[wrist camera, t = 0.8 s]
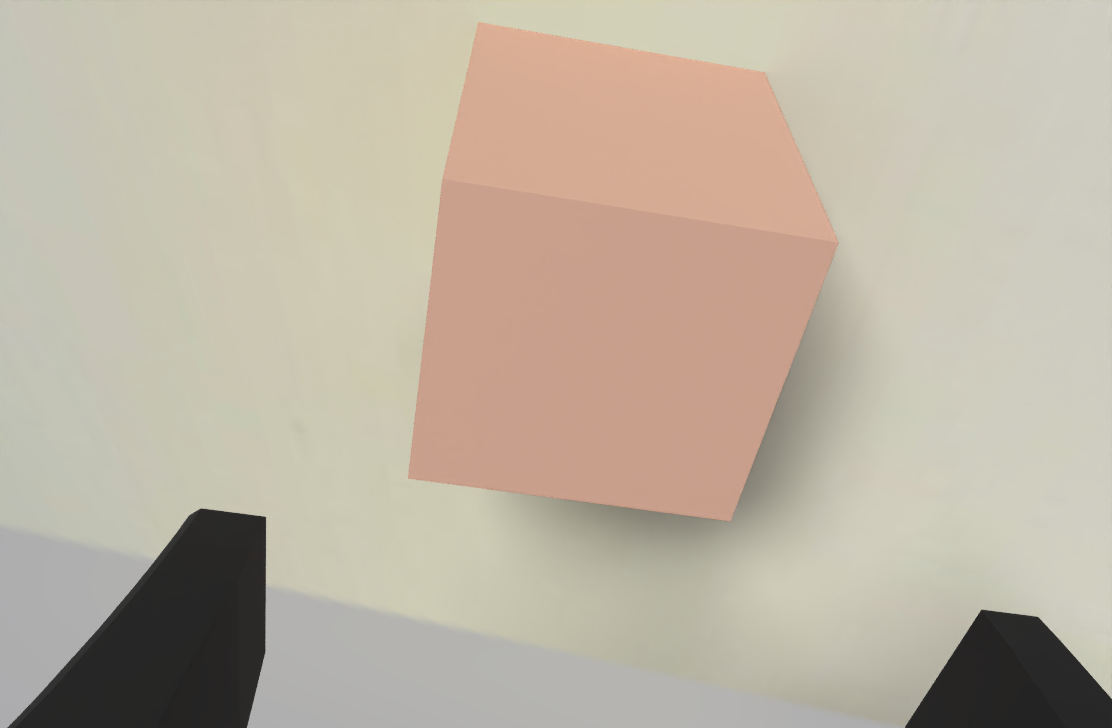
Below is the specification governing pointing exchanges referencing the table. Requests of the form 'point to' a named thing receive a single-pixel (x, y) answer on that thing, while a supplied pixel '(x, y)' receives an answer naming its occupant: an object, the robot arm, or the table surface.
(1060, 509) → the table surface
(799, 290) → the block
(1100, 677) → the table surface
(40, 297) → the table surface
